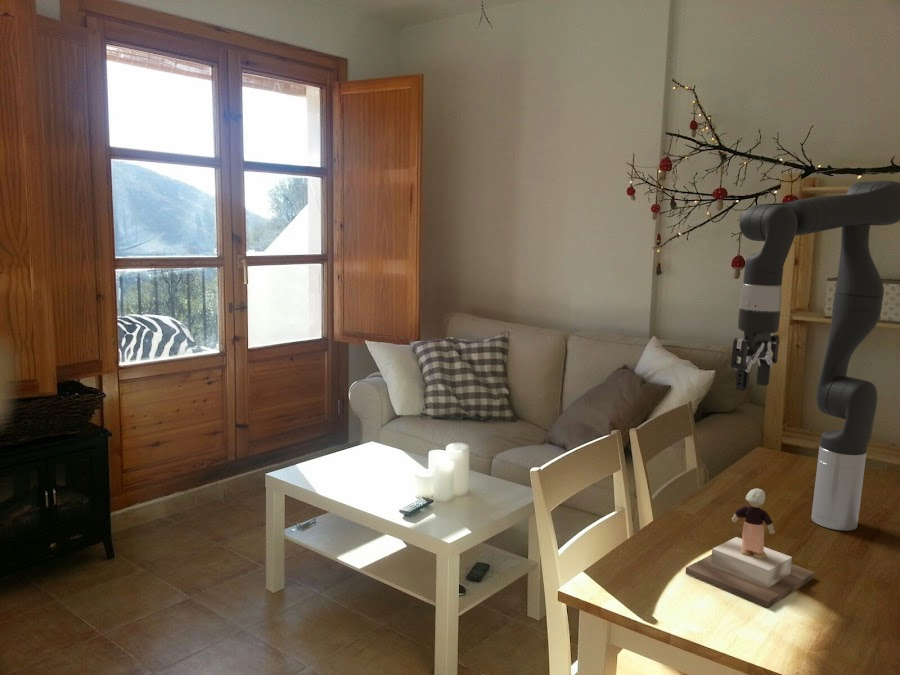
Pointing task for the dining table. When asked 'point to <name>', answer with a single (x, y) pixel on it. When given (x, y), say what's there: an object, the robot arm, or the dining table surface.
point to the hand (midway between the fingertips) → (752, 387)
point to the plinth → (748, 586)
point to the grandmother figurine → (754, 524)
